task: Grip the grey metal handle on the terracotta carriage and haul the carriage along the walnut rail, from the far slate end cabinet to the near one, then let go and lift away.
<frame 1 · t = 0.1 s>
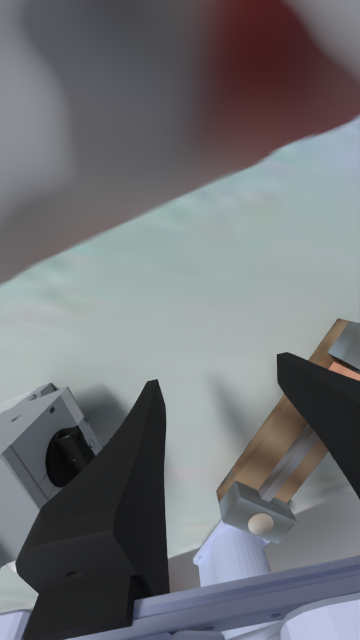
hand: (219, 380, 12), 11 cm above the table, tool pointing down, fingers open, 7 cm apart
rail: (297, 425, 25), on the table
circuit breaker: (59, 411, 23), on the table
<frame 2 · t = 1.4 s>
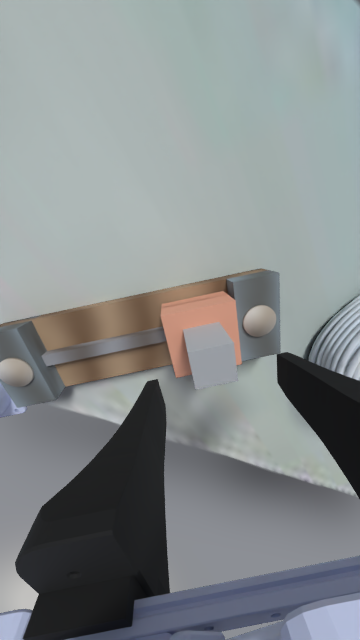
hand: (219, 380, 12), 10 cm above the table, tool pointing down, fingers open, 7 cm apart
rail: (141, 331, 21), on the table
carriage: (204, 342, 16), point 5 cm above the table, slide at 6.0 cm
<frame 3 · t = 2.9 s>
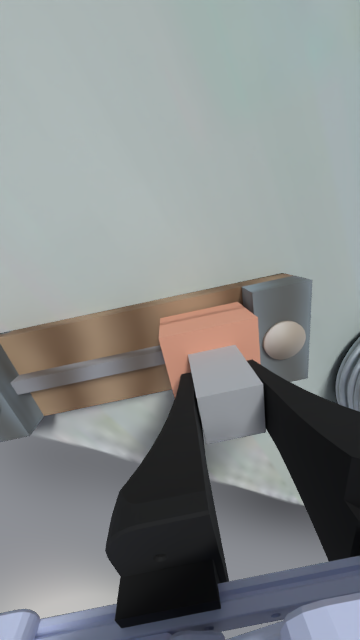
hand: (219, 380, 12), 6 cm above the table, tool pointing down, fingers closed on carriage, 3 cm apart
rail: (136, 348, 18), on the table
carriage: (215, 370, 12), point 5 cm above the table, slide at 6.0 cm, touching gripper
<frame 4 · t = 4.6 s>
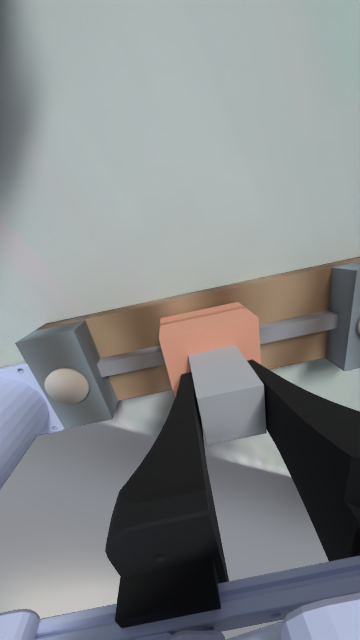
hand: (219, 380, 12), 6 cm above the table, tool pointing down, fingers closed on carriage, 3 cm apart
rail: (211, 332, 17), on the table
carriage: (215, 370, 12), point 5 cm above the table, slide at -0.9 cm, touching gripper
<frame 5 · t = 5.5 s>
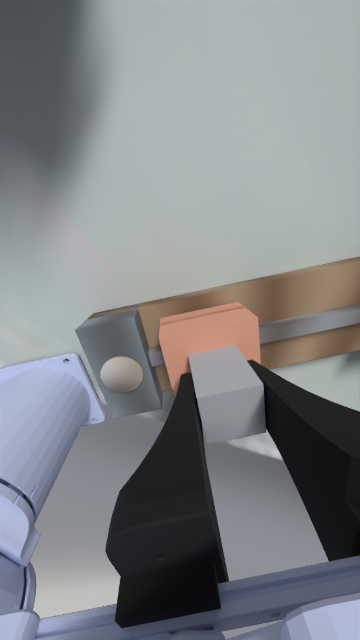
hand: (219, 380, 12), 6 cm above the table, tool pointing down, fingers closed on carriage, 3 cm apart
rail: (255, 323, 17), on the table
carriage: (215, 370, 12), point 5 cm above the table, slide at -5.0 cm, touching gripper
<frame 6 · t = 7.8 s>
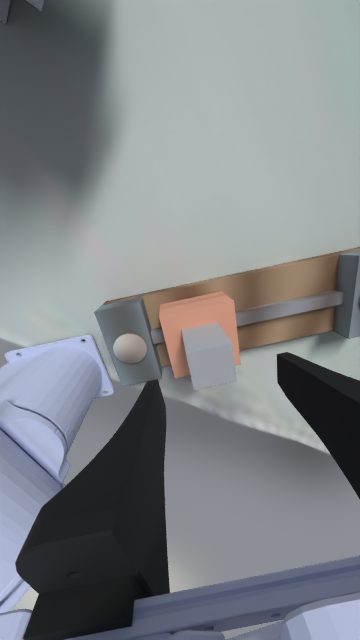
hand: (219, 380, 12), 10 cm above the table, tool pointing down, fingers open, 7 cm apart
rail: (238, 310, 21), on the table
carriage: (202, 342, 16), point 5 cm above the table, slide at -5.0 cm
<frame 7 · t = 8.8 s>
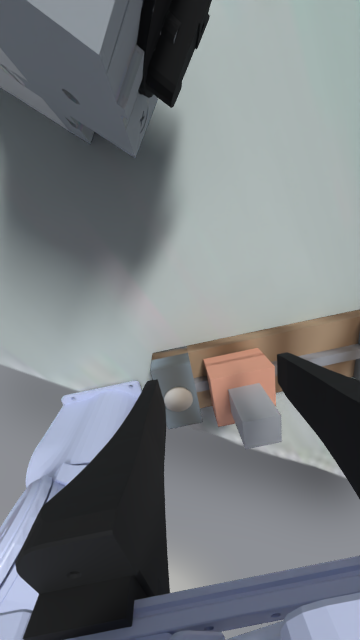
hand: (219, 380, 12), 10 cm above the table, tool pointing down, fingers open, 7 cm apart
rail: (269, 358, 24), on the table
carriage: (245, 399, 19), point 5 cm above the table, slide at -5.0 cm
circuit breaker: (95, 82, 14), on the table
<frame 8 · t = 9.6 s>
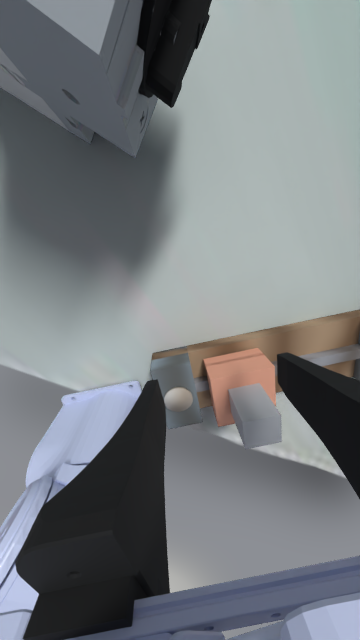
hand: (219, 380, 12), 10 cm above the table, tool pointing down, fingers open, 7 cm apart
rail: (269, 358, 24), on the table
carriage: (245, 399, 19), point 5 cm above the table, slide at -5.0 cm
circuit breaker: (95, 82, 14), on the table
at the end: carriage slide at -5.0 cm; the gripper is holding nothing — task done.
